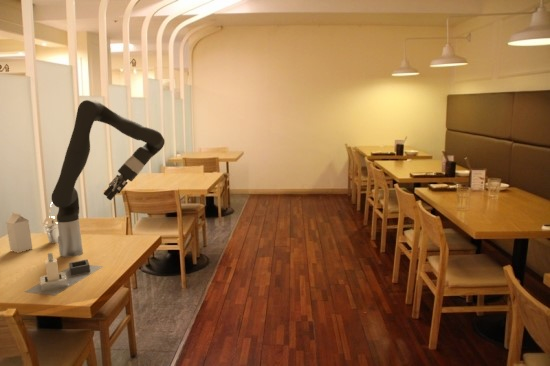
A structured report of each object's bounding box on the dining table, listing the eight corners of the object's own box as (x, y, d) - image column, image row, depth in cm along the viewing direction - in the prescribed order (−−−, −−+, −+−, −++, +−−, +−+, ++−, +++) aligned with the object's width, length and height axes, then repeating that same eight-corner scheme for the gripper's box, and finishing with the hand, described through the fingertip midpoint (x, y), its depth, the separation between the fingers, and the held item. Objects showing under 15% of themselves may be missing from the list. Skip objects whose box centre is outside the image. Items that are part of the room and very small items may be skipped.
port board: (24, 295, 161) (24, 291, 160) (76, 267, 187) (75, 263, 187) (55, 299, 157) (54, 295, 157) (103, 269, 184) (103, 266, 183)
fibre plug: (48, 288, 163) (44, 256, 161) (48, 284, 167) (43, 253, 164) (60, 285, 165) (56, 254, 162) (59, 282, 168) (55, 251, 166)
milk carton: (18, 253, 206) (12, 215, 202) (10, 251, 210) (4, 214, 206) (32, 248, 212) (27, 212, 208) (25, 246, 215) (19, 210, 212)
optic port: (41, 292, 160) (40, 284, 159) (40, 283, 167) (39, 276, 167) (67, 286, 164) (66, 278, 163) (66, 278, 172) (65, 271, 171)
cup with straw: (41, 244, 219) (35, 206, 215) (53, 238, 227) (48, 202, 223) (55, 244, 217) (50, 207, 213) (67, 239, 225) (62, 202, 221)
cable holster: (71, 275, 175) (70, 268, 174) (69, 269, 181) (69, 262, 180) (90, 271, 178) (89, 264, 178) (88, 265, 184) (87, 259, 184)
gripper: (121, 161, 192) (97, 189, 188) (127, 165, 180) (102, 195, 176) (134, 171, 195) (110, 199, 192) (141, 176, 183) (116, 205, 180)
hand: (106, 197), depth 184 cm, fingers open, 8 cm apart
